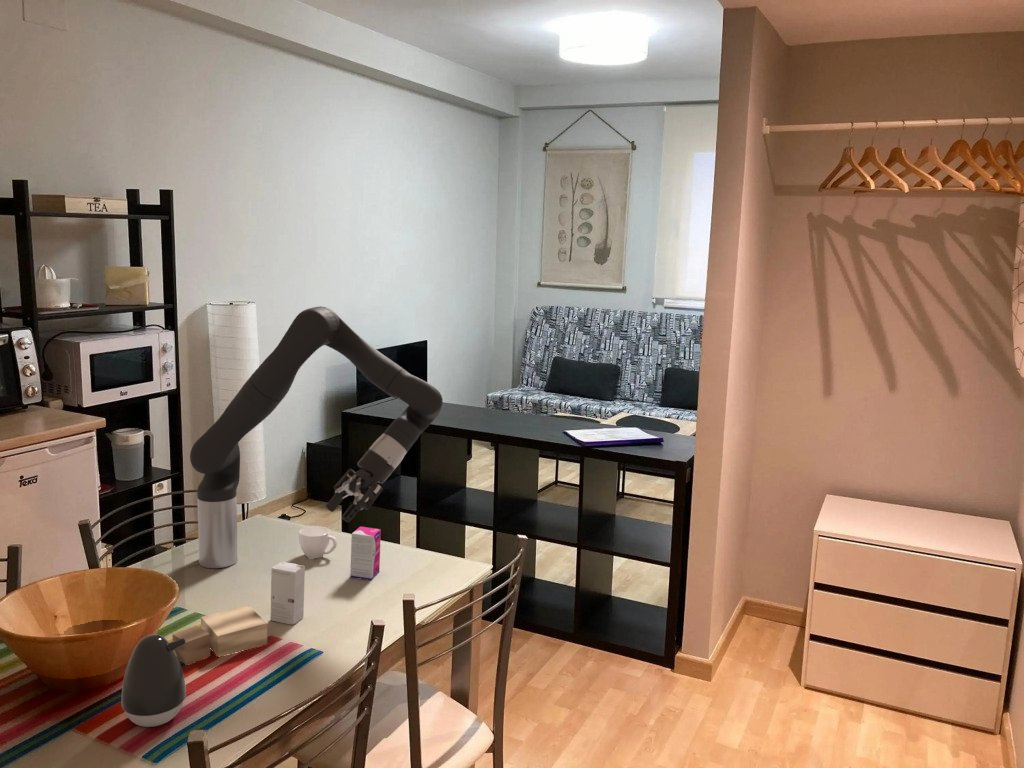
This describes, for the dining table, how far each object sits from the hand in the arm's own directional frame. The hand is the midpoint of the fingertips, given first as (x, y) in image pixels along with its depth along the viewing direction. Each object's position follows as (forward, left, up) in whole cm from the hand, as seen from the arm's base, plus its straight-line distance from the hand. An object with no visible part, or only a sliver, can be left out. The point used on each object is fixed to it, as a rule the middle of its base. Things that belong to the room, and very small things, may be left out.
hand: (336, 514), depth 186 cm
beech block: (+5, -25, -22) cm, 33 cm away
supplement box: (-12, +13, -22) cm, 28 cm away
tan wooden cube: (+7, -34, -22) cm, 41 cm away
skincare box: (+1, -12, -22) cm, 25 cm away
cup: (-29, +8, -22) cm, 37 cm away
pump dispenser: (+25, -45, -22) cm, 56 cm away
